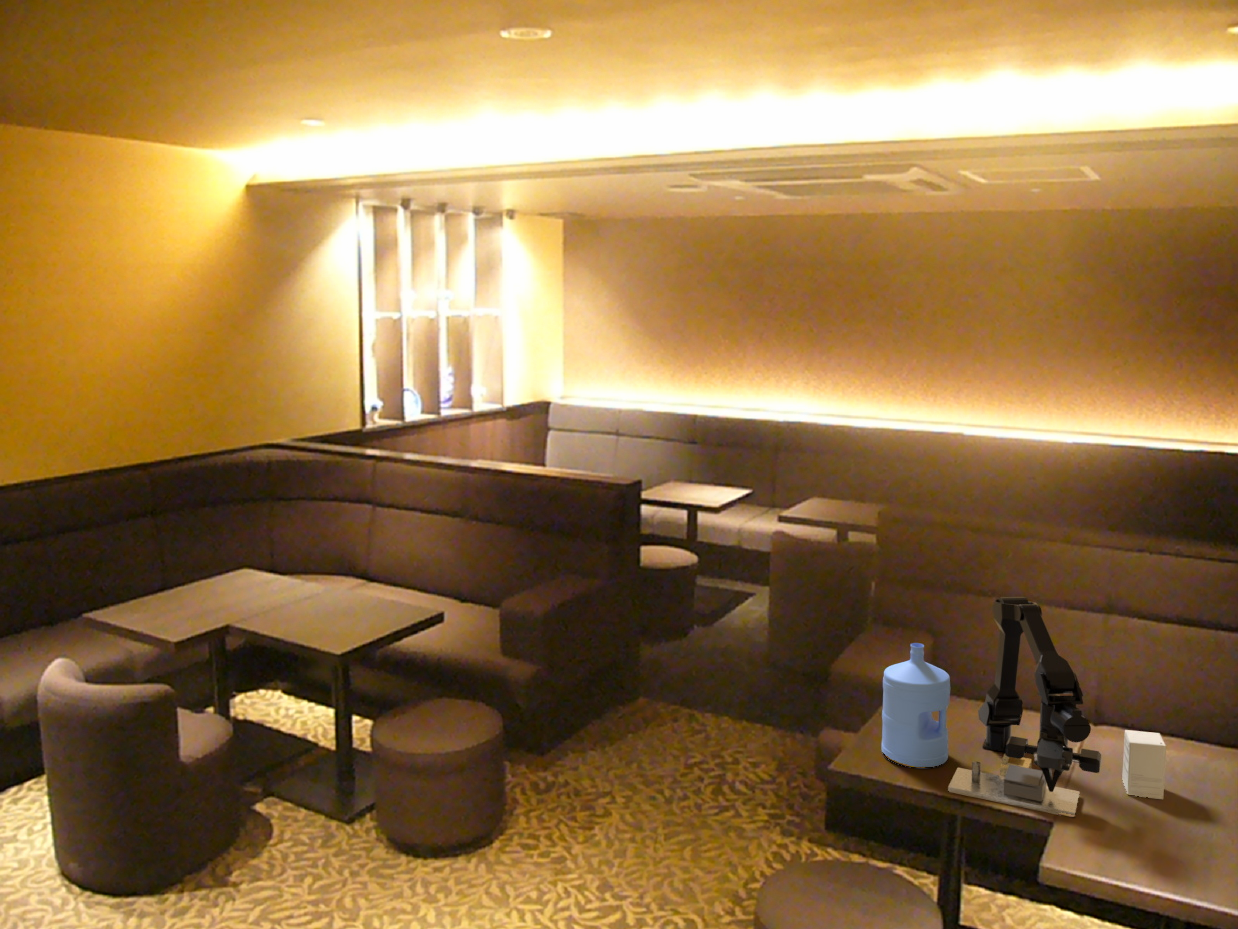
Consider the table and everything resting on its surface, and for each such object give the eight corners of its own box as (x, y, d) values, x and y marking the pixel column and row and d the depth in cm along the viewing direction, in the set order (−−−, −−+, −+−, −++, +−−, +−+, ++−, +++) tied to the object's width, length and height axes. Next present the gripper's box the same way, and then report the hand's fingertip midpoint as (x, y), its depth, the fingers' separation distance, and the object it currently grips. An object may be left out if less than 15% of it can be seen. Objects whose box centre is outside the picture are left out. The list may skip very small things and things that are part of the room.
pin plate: (957, 772, 231) (958, 749, 230) (1079, 796, 218) (1080, 772, 217) (948, 791, 221) (948, 768, 221) (1074, 818, 209) (1076, 793, 208)
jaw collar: (1003, 766, 234) (1004, 754, 233) (1031, 771, 231) (1031, 759, 230) (999, 776, 229) (1000, 763, 228) (1027, 781, 226) (1028, 769, 225)
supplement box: (1157, 785, 223) (1160, 732, 221) (1163, 800, 216) (1167, 746, 214) (1121, 781, 225) (1124, 728, 223) (1126, 796, 218) (1129, 741, 216)
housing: (1009, 779, 224) (1009, 764, 223) (1046, 786, 220) (1046, 771, 219) (1003, 793, 217) (1004, 778, 216) (1041, 801, 213) (1042, 786, 212)
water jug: (873, 761, 237) (876, 649, 233) (890, 738, 251) (892, 631, 247) (940, 775, 229) (944, 659, 226) (953, 750, 243) (957, 640, 239)
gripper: (1002, 728, 211) (1000, 797, 213) (1099, 745, 202) (1095, 816, 204) (1010, 710, 221) (1008, 776, 223) (1102, 725, 212) (1099, 794, 214)
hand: (1051, 791), depth 216 cm, fingers closed
